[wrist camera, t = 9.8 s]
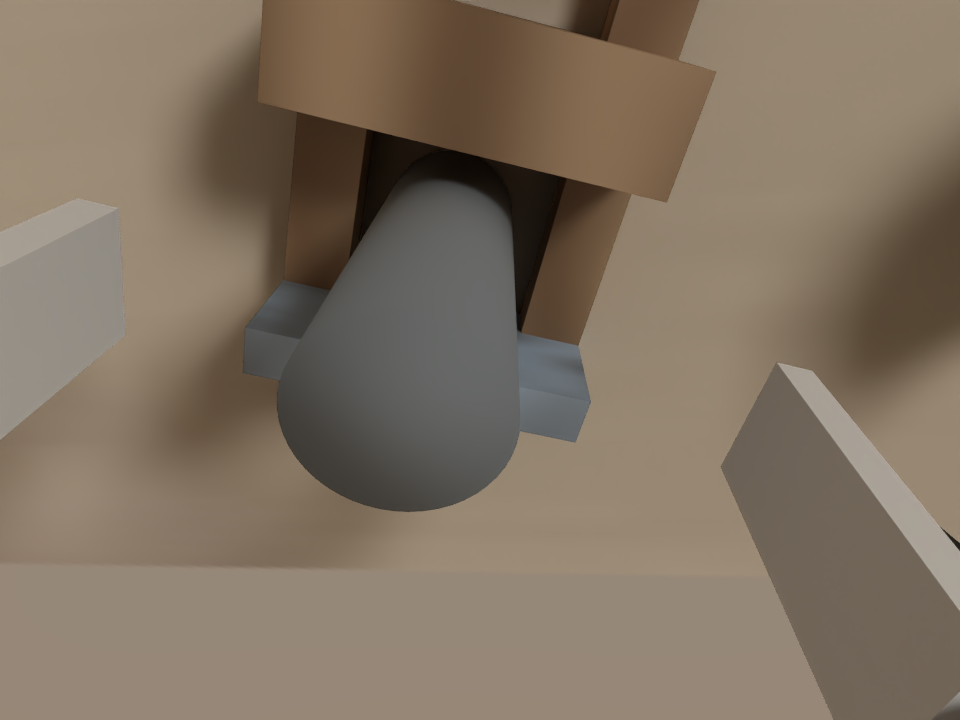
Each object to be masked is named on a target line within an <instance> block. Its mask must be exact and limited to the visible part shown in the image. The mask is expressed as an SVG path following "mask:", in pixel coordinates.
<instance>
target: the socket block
mask: <svg viewBox="0 0 960 720" xmlns="http://www.w3.org/2000/svg"><path fill="white" fill-rule="evenodd" d="M698 2H699V0H611V3H610V6H609V10H608V13H607V16H606V20H605V23H604V27H603V30H602V34H601V37H600V39H597V38H594V37H590V36H586V35H582V34H579V33H575V32H571V31H567V30H563V29H560V28H556V27H552V26H548V25H545V24H541V23H537V22H533V21H530V20H526V19H522V18H518V17H515V16H511V15H507V14H503V13H499V12H496V11H492V10H488V9H484V8H481V7H477V6H473V5H469V4H466V3H462V2H458V1H454V0H263V7H262V26H261V44H260V63H259V81H258V100H257V102H259V103H263V104H268V105H272V106H276V107H280V108H284V109H288V110H292V111H296V112H297V124H296V136H295V148H294V160H293V172H292V184H291V196H290V207H289V219H288V231H287V243H286V255H285V267H284V279H283V281H282V283H281V284H280V285H279V286H278V288H277V289H276V290H275V291H274V293H273V294H272V295H271V296H270V297H269V299H268V300H267V301H266V302H265V304H264V305H263V306H262V307H261V309H260V310H259V311H258V312H257V314H256V315H255V316H254V317H253V319H252V320H251V321H250V322H249V324H248V325H247V326H246V327H245V341H244V360H243V373H245V374H250V375H255V376H260V377H265V378H269V379H274V380H279V381H280V378H281V375H282V372H283V369H284V367H285V365H286V363H287V362H288V360H289V358H290V356H291V354H292V353H293V351H294V350H295V348H296V346H297V345H298V343H299V341H300V340H301V338H302V336H303V335H304V333H305V332H306V330H307V328H308V327H309V325H310V323H311V322H312V320H313V318H314V317H315V315H316V313H317V312H318V310H319V309H320V307H321V305H322V304H323V302H324V300H325V299H326V297H327V295H328V294H329V292H330V291H331V289H332V287H333V286H334V284H335V282H336V281H337V279H338V277H339V276H340V274H341V272H342V271H343V269H344V268H345V266H346V264H347V263H348V261H349V259H350V258H351V256H352V254H353V253H354V251H355V250H356V248H357V246H358V243H359V236H360V229H361V222H362V215H363V208H364V201H365V193H366V186H367V179H368V172H369V165H370V158H371V151H372V144H373V137H374V131H378V132H382V133H386V134H390V135H394V136H398V137H402V138H406V139H410V140H414V141H418V142H422V143H426V144H431V145H435V146H439V147H443V148H447V149H451V150H455V151H459V152H463V153H467V154H471V155H475V156H479V157H484V158H488V159H492V160H496V161H500V162H504V163H508V164H512V165H516V166H520V167H524V168H528V169H532V170H537V171H541V172H545V173H549V174H553V175H557V176H560V178H559V182H558V185H557V189H556V192H555V195H554V199H553V202H552V206H551V209H550V213H549V216H548V220H547V223H546V226H545V230H544V233H543V237H542V240H541V244H540V247H539V251H538V254H537V257H536V261H535V264H534V268H533V271H532V275H531V278H530V281H529V285H528V288H527V292H526V295H525V299H524V302H523V306H522V309H521V312H520V314H517V313H516V325H517V348H518V371H519V394H520V417H521V420H520V431H523V432H528V433H532V434H537V435H542V436H547V437H552V438H556V439H561V440H566V441H571V442H576V440H577V437H578V434H579V432H580V429H581V427H582V424H583V421H584V419H585V416H586V413H587V411H588V408H589V405H590V403H591V401H590V396H589V392H588V387H587V383H586V378H585V374H584V369H583V365H582V361H581V356H580V352H579V347H578V345H579V342H580V339H581V336H582V333H583V331H584V328H585V325H586V322H587V319H588V316H589V313H590V311H591V308H592V305H593V302H594V299H595V296H596V293H597V291H598V288H599V285H600V282H601V279H602V276H603V274H604V271H605V268H606V265H607V262H608V259H609V256H610V254H611V251H612V248H613V245H614V242H615V239H616V236H617V234H618V231H619V228H620V225H621V222H622V219H623V216H624V214H625V211H626V208H627V205H628V202H629V199H630V196H631V194H634V195H638V196H643V197H647V198H651V199H655V200H659V201H663V202H667V200H668V198H669V195H670V193H671V190H672V187H673V185H674V182H675V179H676V177H677V174H678V172H679V169H680V166H681V164H682V161H683V158H684V156H685V153H686V151H687V148H688V145H689V143H690V140H691V137H692V135H693V132H694V130H695V127H696V124H697V122H698V119H699V116H700V114H701V111H702V108H703V106H704V103H705V101H706V98H707V95H708V93H709V90H710V87H711V85H712V82H713V80H714V77H715V74H716V72H715V71H712V70H709V69H705V68H702V67H699V66H695V65H692V64H689V63H685V62H682V61H678V59H679V57H680V54H681V51H682V48H683V45H684V42H685V39H686V37H687V34H688V31H689V28H690V25H691V22H692V19H693V17H694V14H695V11H696V8H697V5H698Z"/></svg>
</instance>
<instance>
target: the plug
mask: <svg viewBox="0 0 960 720" xmlns="http://www.w3.org/2000/svg"><path fill="white" fill-rule="evenodd" d="M277 411H278V418H279V423H280V426H281V429H282V432H283V435H284V437H285V439H286V441H287V444H288V446H289V447H290V449H291V450H292V452H293V454H294V455H295V457H296V458H297V459H298V461H299V462H300V463H301V464H302V465H303V467H304V468H305V469H306V470H307V471H308V472H309V473H310V474H311V475H312V476H314V477H315V478H316V479H317V480H318V481H320V482H321V483H322V484H324V485H325V486H326V487H328V488H329V489H331V490H333V491H334V492H336V493H338V494H340V495H342V496H344V497H346V498H348V499H350V500H352V501H355V502H358V503H361V504H363V505H366V506H370V507H374V508H378V509H384V510H391V511H404V512H414V511H427V510H433V509H439V508H443V507H446V506H450V505H453V504H456V503H458V502H461V501H463V500H465V499H467V498H469V497H471V496H473V495H475V494H477V493H478V492H479V491H481V490H482V489H484V488H485V487H487V486H488V485H489V484H490V483H491V482H492V481H493V480H494V479H495V478H496V477H497V476H498V475H499V474H500V473H501V471H502V470H503V469H504V468H505V466H506V465H507V463H508V461H509V460H510V458H511V456H512V454H513V452H514V449H515V447H516V444H517V440H518V436H519V432H520V420H521V417H520V394H519V371H518V348H517V325H516V302H515V279H514V256H513V233H512V211H511V201H510V197H509V194H508V191H507V188H506V186H505V184H504V182H503V180H502V179H501V177H500V176H499V175H498V173H497V172H496V171H495V170H494V169H493V168H492V167H491V166H490V165H489V164H487V163H486V162H485V161H483V160H481V159H480V158H478V157H476V156H474V155H471V154H467V153H463V152H459V151H451V150H446V151H438V152H434V153H430V154H428V155H425V156H423V157H421V158H419V159H417V160H416V161H415V162H413V163H412V164H411V165H410V166H409V167H408V168H407V169H406V170H405V171H404V172H403V173H402V175H401V176H400V177H399V179H398V181H397V182H396V184H395V186H394V187H393V189H392V190H391V192H390V194H389V195H388V197H387V199H386V200H385V202H384V204H383V205H382V207H381V208H380V210H379V212H378V213H377V215H376V217H375V218H374V220H373V222H372V223H371V225H370V227H369V228H368V230H367V231H366V233H365V235H364V236H363V238H362V240H361V241H360V243H359V245H358V246H357V248H356V250H355V251H354V253H353V254H352V256H351V258H350V259H349V261H348V263H347V264H346V266H345V268H344V269H343V271H342V272H341V274H340V276H339V277H338V279H337V281H336V282H335V284H334V286H333V287H332V289H331V291H330V292H329V294H328V295H327V297H326V299H325V300H324V302H323V304H322V305H321V307H320V309H319V310H318V312H317V313H316V315H315V317H314V318H313V320H312V322H311V323H310V325H309V327H308V328H307V330H306V332H305V333H304V335H303V336H302V338H301V340H300V341H299V343H298V345H297V346H296V348H295V350H294V351H293V353H292V354H291V356H290V358H289V360H288V362H287V363H286V365H285V367H284V369H283V372H282V375H281V378H280V381H279V387H278V392H277Z"/></svg>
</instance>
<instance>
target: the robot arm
mask: <svg viewBox="0 0 960 720" xmlns="http://www.w3.org/2000/svg"><path fill="white" fill-rule="evenodd" d="M125 335H126V332H125V313H124V295H123V276H122V257H121V238H120V219H119V208H116V207H112V206H108V205H103V204H99V203H95V202H91V201H86V200H82V199H78V198H77V199H75V200H73V201H70V202H68V203H66V204H63V205H61V206H59V207H57V208H54V209H52V210H50V211H47V212H45V213H43V214H40V215H38V216H36V217H33V218H31V219H29V220H26V221H24V222H22V223H20V224H17V225H15V226H13V227H10V228H8V229H6V230H3V231H1V232H0V440H1V439H2V438H3V437H4V436H6V435H7V434H8V433H9V432H10V431H12V430H13V429H14V428H15V427H16V426H17V425H19V424H20V423H21V422H22V421H23V420H25V419H26V418H27V417H28V416H29V415H31V414H32V413H33V412H34V411H35V410H37V409H38V408H39V407H40V406H41V405H43V404H44V403H45V402H46V401H47V400H49V399H50V398H51V397H52V396H53V395H55V394H56V393H57V392H58V391H59V390H61V389H62V388H63V387H64V386H65V385H67V384H68V383H69V382H70V381H71V380H73V379H74V378H75V377H76V376H77V375H79V374H80V373H81V372H82V371H83V370H84V369H86V368H87V367H88V366H89V365H90V364H92V363H93V362H94V361H95V360H96V359H98V358H99V357H100V356H101V355H102V354H104V353H105V352H106V351H107V350H108V349H110V348H111V347H112V346H113V345H114V344H116V343H117V342H118V341H119V340H120V339H122V338H123V337H124V336H125ZM721 469H722V471H723V473H724V475H725V478H726V480H727V482H728V484H729V487H730V489H731V491H732V493H733V496H734V498H735V500H736V502H737V504H738V507H739V509H740V511H741V513H742V516H743V518H744V520H745V522H746V525H747V527H748V529H749V531H750V534H751V536H752V538H753V540H754V543H755V545H756V547H757V549H758V552H759V554H760V556H761V558H762V560H763V563H764V565H765V567H766V569H767V572H768V574H769V576H770V578H771V580H772V583H773V585H774V587H775V590H776V592H777V594H778V596H779V599H780V600H781V603H782V605H783V607H784V610H785V612H786V614H787V616H788V619H789V621H790V623H791V625H792V627H793V630H794V632H795V634H796V636H797V639H798V641H799V643H800V646H801V648H802V650H803V652H804V655H805V657H806V659H807V661H808V663H809V666H810V668H811V670H812V672H813V675H814V677H815V679H816V681H817V683H818V686H819V688H820V690H821V693H822V695H823V697H824V699H825V702H826V704H827V706H828V708H829V710H830V713H831V715H832V717H833V719H834V720H960V543H959V542H958V541H956V540H955V539H954V538H953V537H952V536H950V535H949V534H948V533H947V532H946V531H945V530H943V529H942V528H941V527H940V526H939V525H938V524H937V523H936V521H935V520H934V519H933V518H932V517H931V515H930V514H929V513H928V512H927V510H926V509H925V508H924V507H923V506H922V504H921V503H920V502H919V501H918V499H917V498H916V497H915V496H914V495H913V493H912V492H911V491H910V490H909V488H908V487H907V486H906V485H905V484H904V482H903V481H902V480H901V479H900V477H899V476H898V475H897V474H896V473H895V471H894V470H893V469H892V468H891V466H890V465H889V464H888V463H887V462H886V460H885V459H884V458H883V457H882V455H881V454H880V453H879V452H878V451H877V449H876V448H875V447H874V446H873V444H872V443H871V442H870V441H869V440H868V438H867V437H866V436H865V435H864V433H863V432H862V431H861V430H860V429H859V427H858V426H857V425H856V424H855V422H854V421H853V420H852V419H851V418H850V416H849V415H848V414H847V413H846V411H845V410H844V409H843V408H842V407H841V405H840V404H839V403H838V402H837V400H836V399H835V398H834V397H833V396H832V394H831V393H830V392H829V391H828V389H827V388H826V387H825V386H824V385H823V383H822V382H821V381H820V380H819V378H818V377H817V376H816V375H815V374H814V372H813V371H811V370H807V369H802V368H798V367H794V366H790V365H785V364H781V363H776V365H775V367H774V368H773V370H772V372H771V374H770V376H769V378H768V380H767V381H766V383H765V385H764V387H763V389H762V391H761V393H760V394H759V396H758V398H757V400H756V402H755V404H754V406H753V408H752V409H751V411H750V413H749V415H748V417H747V419H746V421H745V422H744V424H743V426H742V428H741V430H740V432H739V434H738V435H737V437H736V439H735V441H734V443H733V445H732V447H731V449H730V450H729V452H728V454H727V456H726V458H725V460H724V462H723V463H722V465H721Z"/></svg>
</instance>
